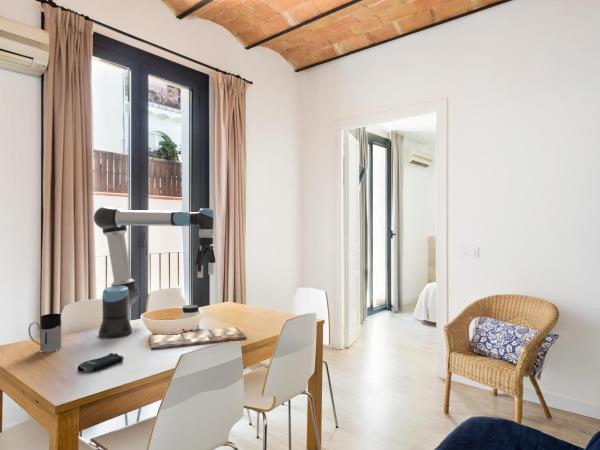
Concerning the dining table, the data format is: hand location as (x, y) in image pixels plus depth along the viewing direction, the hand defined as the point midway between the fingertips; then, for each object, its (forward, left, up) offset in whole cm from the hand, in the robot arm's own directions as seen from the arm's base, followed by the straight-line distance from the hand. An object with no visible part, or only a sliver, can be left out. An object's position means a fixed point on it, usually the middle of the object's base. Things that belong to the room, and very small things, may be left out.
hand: (205, 276), depth 215 cm
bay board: (-7, -23, -27) cm, 36 cm away
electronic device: (-48, -47, -28) cm, 73 cm away
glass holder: (-71, -18, -27) cm, 78 cm away
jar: (-8, -4, -27) cm, 29 cm away
